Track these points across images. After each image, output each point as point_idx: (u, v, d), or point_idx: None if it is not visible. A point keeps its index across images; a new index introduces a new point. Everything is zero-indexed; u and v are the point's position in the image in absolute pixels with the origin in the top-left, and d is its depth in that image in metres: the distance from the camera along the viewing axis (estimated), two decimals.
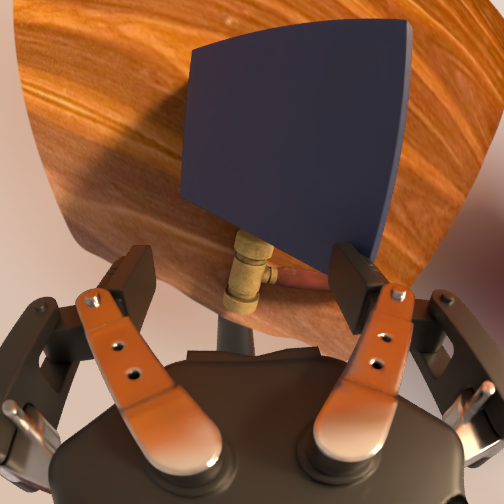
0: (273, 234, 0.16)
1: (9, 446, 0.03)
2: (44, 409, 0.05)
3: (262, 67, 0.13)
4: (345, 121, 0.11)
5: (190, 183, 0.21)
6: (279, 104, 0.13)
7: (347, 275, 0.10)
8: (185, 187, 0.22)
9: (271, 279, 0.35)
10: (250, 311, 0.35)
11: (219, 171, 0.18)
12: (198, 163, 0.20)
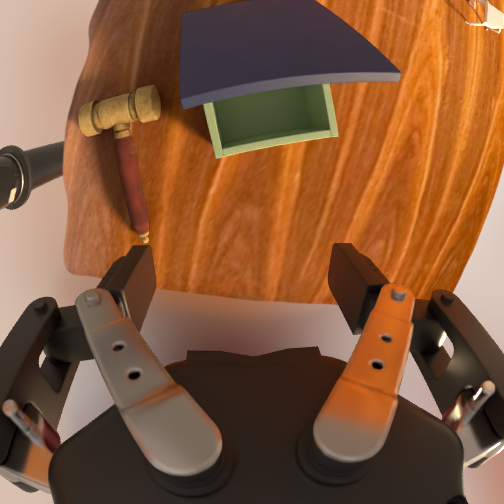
0: (189, 51, 0.15)
1: (9, 446, 0.03)
2: (44, 409, 0.05)
3: (314, 21, 0.15)
4: (304, 53, 0.13)
5: (197, 13, 0.18)
6: (291, 29, 0.15)
7: (347, 275, 0.10)
8: (192, 13, 0.19)
9: (119, 133, 0.29)
10: (83, 129, 0.28)
11: (219, 20, 0.17)
12: (217, 12, 0.18)
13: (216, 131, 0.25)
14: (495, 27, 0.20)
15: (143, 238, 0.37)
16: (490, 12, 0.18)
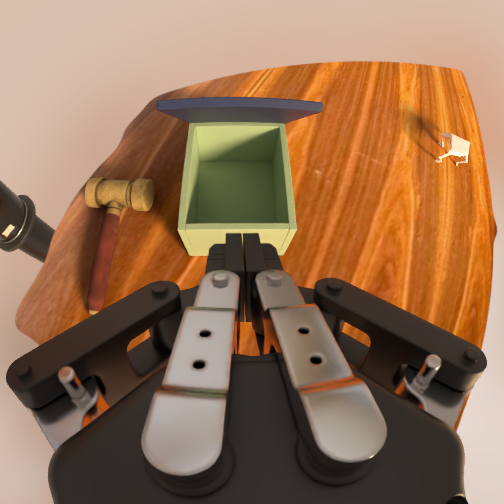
0: None
1: (49, 401, 0.05)
2: (113, 386, 0.06)
3: None
4: None
5: None
6: None
7: (244, 263, 0.11)
8: None
9: (111, 209, 0.36)
10: (86, 193, 0.35)
11: None
12: None
13: (185, 207, 0.30)
14: (460, 154, 0.43)
15: None
16: (454, 141, 0.43)
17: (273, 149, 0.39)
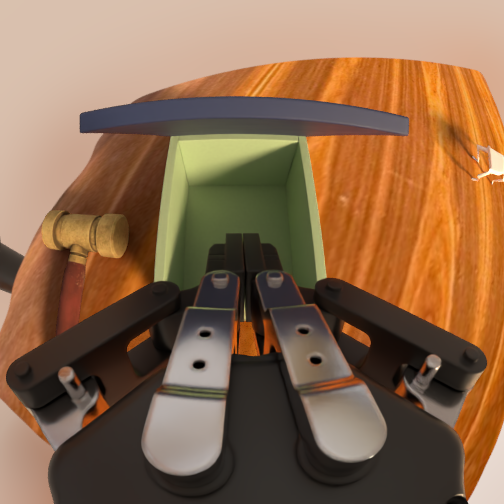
0: None
1: (49, 401, 0.05)
2: (113, 386, 0.06)
3: None
4: None
5: None
6: None
7: (244, 263, 0.11)
8: None
9: (73, 255, 0.25)
10: (43, 233, 0.25)
11: None
12: None
13: (162, 272, 0.20)
14: (500, 172, 0.33)
15: None
16: (493, 157, 0.33)
17: (288, 170, 0.29)
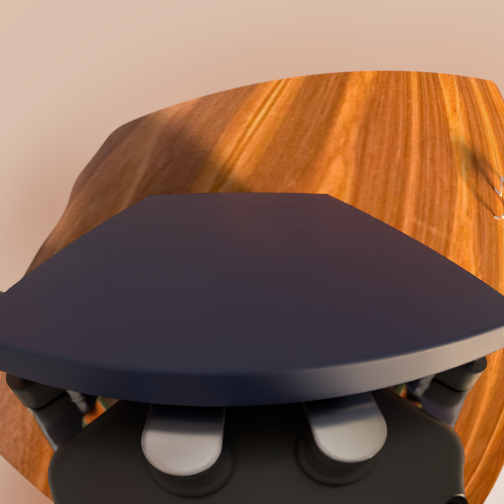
0: (84, 242, 0.09)
1: (49, 401, 0.05)
2: None
3: (333, 221, 0.11)
4: (303, 284, 0.06)
5: (164, 198, 0.17)
6: (289, 232, 0.10)
7: None
8: (160, 196, 0.18)
9: None
10: None
11: (178, 208, 0.14)
12: (188, 199, 0.16)
13: None
14: None
15: None
16: None
17: None
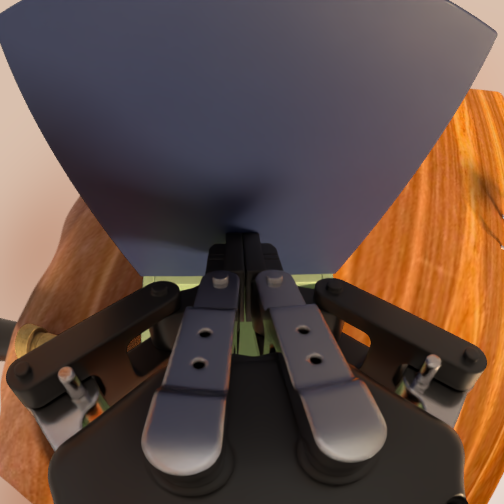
0: None
1: (49, 401, 0.05)
2: (113, 386, 0.06)
3: None
4: None
5: None
6: None
7: (244, 263, 0.11)
8: None
9: None
10: (18, 356, 0.19)
11: None
12: None
13: None
14: None
15: None
16: None
17: None
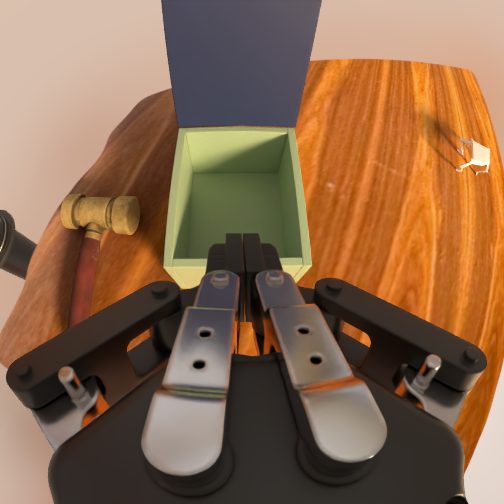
0: None
1: (48, 401, 0.05)
2: (113, 386, 0.06)
3: None
4: None
5: None
6: None
7: (244, 263, 0.11)
8: None
9: (89, 232, 0.30)
10: (62, 213, 0.29)
11: None
12: None
13: (172, 238, 0.24)
14: (482, 163, 0.37)
15: None
16: (476, 149, 0.37)
17: (280, 159, 0.33)
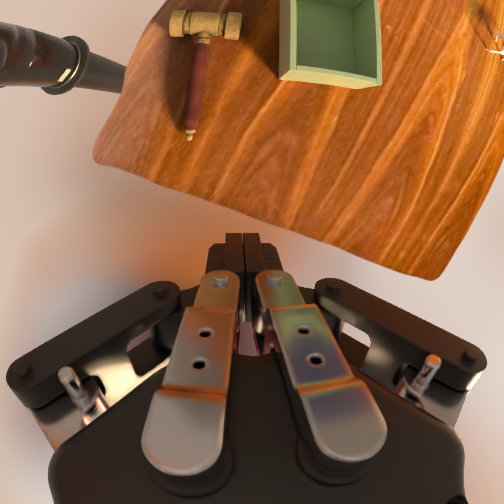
0: None
1: (49, 401, 0.05)
2: (113, 386, 0.06)
3: None
4: None
5: None
6: None
7: (244, 263, 0.11)
8: None
9: (202, 39, 0.30)
10: (171, 26, 0.28)
11: None
12: None
13: (295, 51, 0.28)
14: None
15: (188, 134, 0.38)
16: None
17: (358, 4, 0.27)
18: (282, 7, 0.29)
